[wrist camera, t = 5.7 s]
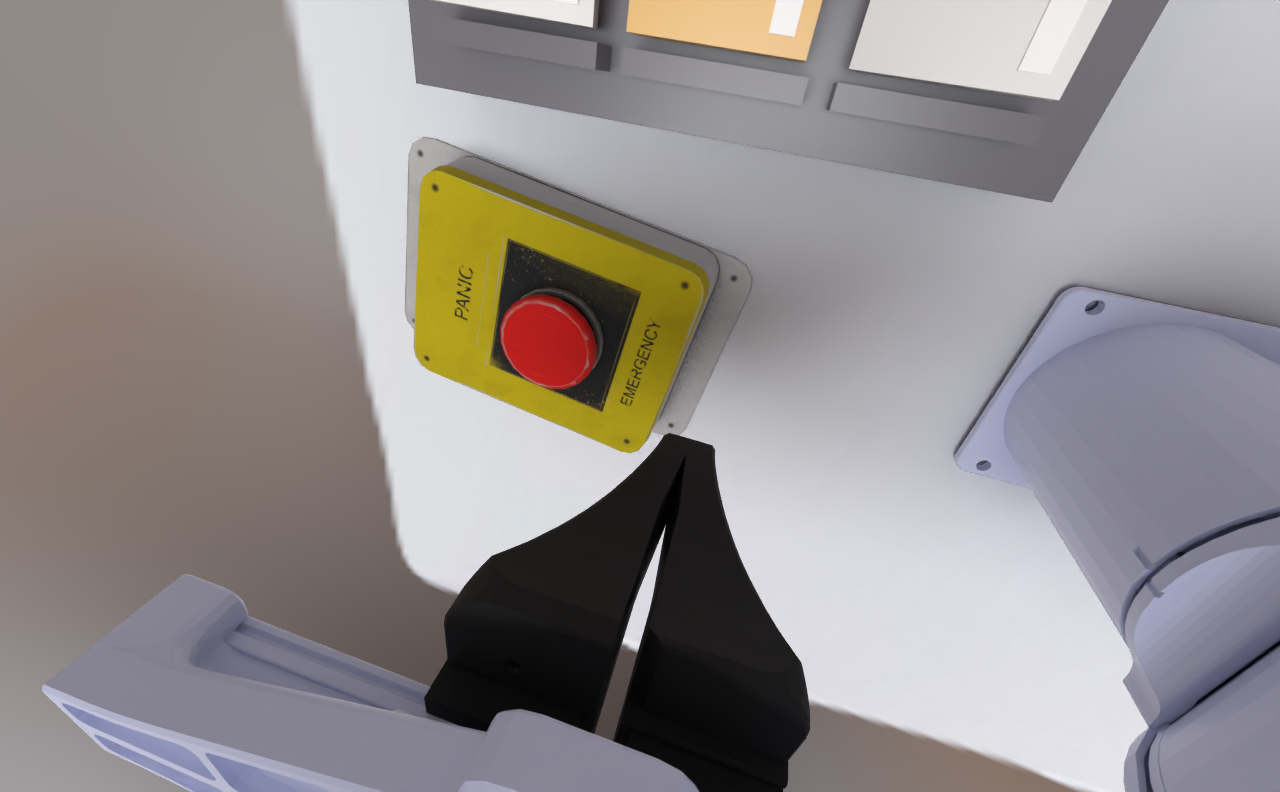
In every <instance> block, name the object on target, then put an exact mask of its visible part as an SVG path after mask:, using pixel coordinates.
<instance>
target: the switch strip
mask: <svg viewBox="0 0 1280 792" xmlns="http://www.w3.org/2000/svg"><path fill="white" fill-rule="evenodd" d="M408 1H409V11H410V22H411V33H412V43H413V54H414V65H415V75H416V83H418V84H423V85H429V86H434V87H439V88H445V89H450V90H455V91H461V92H466V93H471V94H477V95H482V96H487V97H493V98H498V99H503V100H509V101H514V102H519V103H525V104H530V105H535V106H541V107H546V108H551V109H557V110H562V111H567V112H572V113H578V114H583V115H588V116H594V117H599V118H604V119H610V120H615V121H620V122H626V123H631V124H636V125H642V126H647V127H652V128H658V129H663V130H668V131H674V132H679V133H684V134H690V135H695V136H700V137H706V138H711V139H716V140H722V141H727V142H732V143H738V144H743V145H748V146H754V147H759V148H764V149H770V150H775V151H780V152H786V153H791V154H796V155H802V156H807V157H812V158H818V159H823V160H828V161H834V162H839V163H844V164H850V165H855V166H860V167H866V168H871V169H876V170H882V171H887V172H892V173H898V174H903V175H908V176H914V177H919V178H924V179H929V180H935V181H940V182H945V183H951V184H956V185H961V186H967V187H972V188H977V189H983V190H988V191H993V192H999V193H1004V194H1009V195H1015V196H1020V197H1025V198H1031V199H1036V200H1041V201H1047V202H1052V201H1053V200H1054V198H1055V196H1056V194H1057V193H1058V191H1059V189H1060V187H1061V186H1062V184H1063V182H1064V181H1065V179H1066V177H1067V175H1068V174H1069V172H1070V170H1071V168H1072V167H1073V165H1074V163H1075V162H1076V160H1077V158H1078V156H1079V155H1080V153H1081V151H1082V149H1083V148H1084V146H1085V144H1086V143H1087V141H1088V139H1089V137H1090V136H1091V134H1092V132H1093V130H1094V129H1095V127H1096V125H1097V124H1098V122H1099V120H1100V118H1101V117H1102V115H1103V113H1104V111H1105V110H1106V108H1107V106H1108V105H1109V103H1110V101H1111V99H1112V98H1113V96H1114V94H1115V92H1116V91H1117V89H1118V87H1119V86H1120V84H1121V82H1122V80H1123V79H1124V77H1125V75H1126V73H1127V72H1128V70H1129V68H1130V67H1131V65H1132V63H1133V61H1134V60H1135V58H1136V56H1137V54H1138V53H1139V51H1140V49H1141V48H1142V46H1143V44H1144V42H1145V41H1146V39H1147V37H1148V35H1149V34H1150V32H1151V30H1152V29H1153V27H1154V25H1155V23H1156V22H1157V20H1158V18H1159V16H1160V15H1161V13H1162V11H1163V10H1164V8H1165V6H1166V4H1167V3H1168V1H1169V0H1112V1H1111V3H1110V5H1109V7H1108V9H1107V11H1106V13H1105V15H1104V17H1103V18H1102V20H1101V22H1100V24H1099V26H1098V28H1097V30H1096V32H1095V34H1094V35H1093V37H1092V39H1091V41H1090V43H1089V45H1088V47H1087V49H1086V51H1085V52H1084V54H1083V56H1082V58H1081V60H1080V62H1079V64H1078V66H1077V68H1076V70H1075V71H1074V73H1073V75H1072V77H1071V79H1070V81H1069V83H1068V85H1067V87H1066V88H1065V90H1064V92H1063V94H1062V96H1061V98H1060V100H1057V101H1044V100H1037V99H1031V98H1024V97H1018V96H1011V95H1004V94H998V93H991V92H985V91H978V90H971V89H965V88H958V87H951V86H945V85H938V84H932V83H925V82H918V81H912V80H905V79H899V78H892V77H885V76H879V75H872V74H866V73H859V72H853V71H852V70H850V69H849V66H850V63H851V60H852V57H853V54H854V51H855V47H856V44H857V41H858V38H859V35H860V32H861V28H862V25H863V22H864V19H865V16H866V12H867V9H868V6H869V3H870V0H822V4H821V8H820V11H819V15H818V19H817V22H816V26H815V30H814V33H813V37H812V41H811V44H810V48H809V52H808V55H807V59H806V61H805V62H804V63H802V62H796V61H790V60H784V59H777V58H771V57H765V56H759V55H753V54H747V53H741V52H735V51H729V50H722V49H716V48H710V47H704V46H698V45H692V44H686V43H680V42H674V41H667V40H661V39H655V38H649V37H643V36H637V35H634V34H631V33H629V32H626V28H627V19H628V9H629V0H600V1H599V14H598V27H597V30H594V29H588V28H582V27H576V26H571V25H565V24H559V23H553V22H548V21H542V20H536V19H530V18H524V17H519V16H513V15H507V14H501V13H496V12H490V11H484V10H478V9H473V8H467V7H461V6H455V5H449V4H444V3H438V2H434V1H430V0H408Z"/></svg>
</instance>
